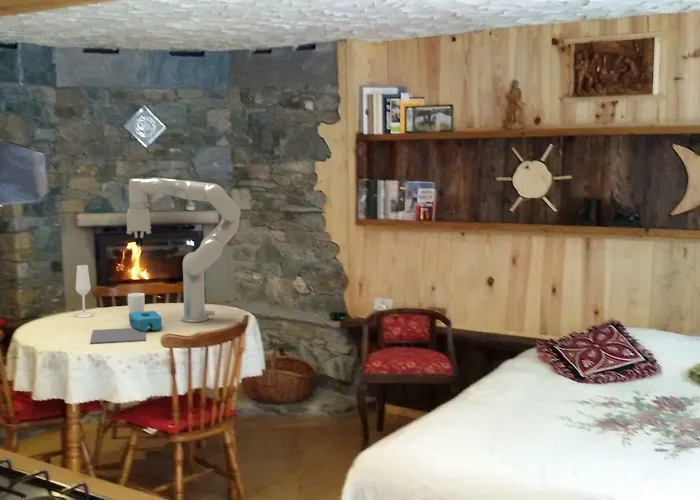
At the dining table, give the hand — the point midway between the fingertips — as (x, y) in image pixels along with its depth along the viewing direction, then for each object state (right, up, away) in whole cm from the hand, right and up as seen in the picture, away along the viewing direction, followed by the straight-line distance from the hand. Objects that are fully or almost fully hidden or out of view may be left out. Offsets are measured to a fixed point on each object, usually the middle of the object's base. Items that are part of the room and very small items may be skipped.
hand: (139, 246), depth 344 cm
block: (+9, -34, -14) cm, 38 cm away
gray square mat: (-3, -38, -21) cm, 44 cm away
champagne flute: (-31, -33, +17) cm, 48 cm away
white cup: (-7, -33, +20) cm, 39 cm away
